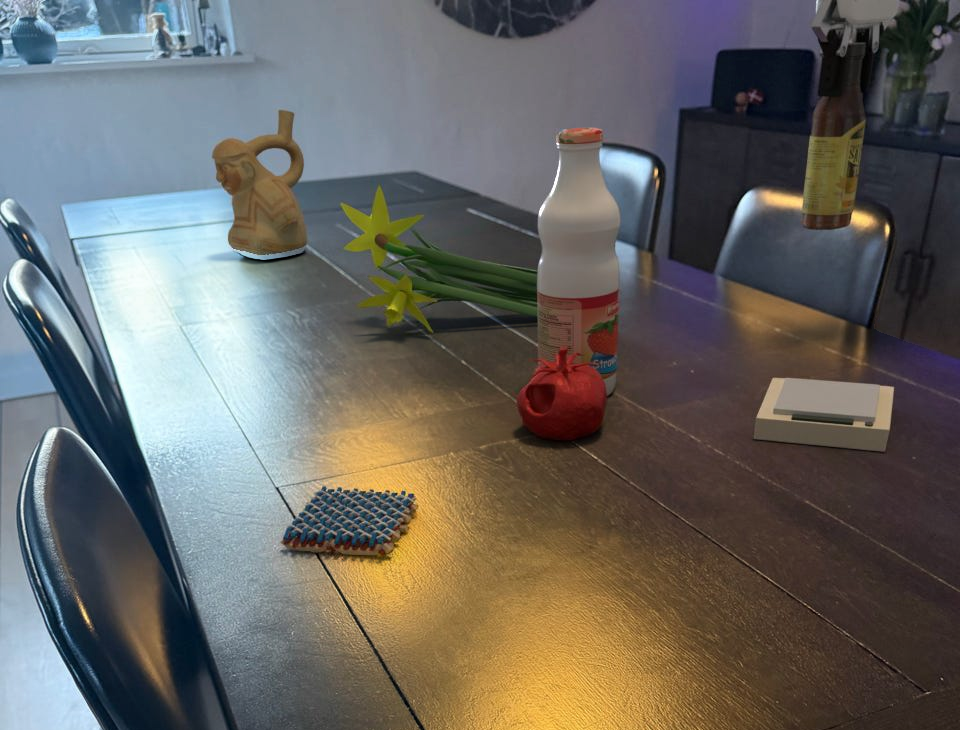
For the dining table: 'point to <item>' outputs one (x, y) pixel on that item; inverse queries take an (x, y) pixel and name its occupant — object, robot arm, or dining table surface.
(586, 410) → the pomegranate
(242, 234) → the ceramic vessel
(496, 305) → the daffodil flowers
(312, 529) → the woven mat
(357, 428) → the dining table surface
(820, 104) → the sauce bottle
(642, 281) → the dining table surface
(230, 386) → the dining table surface
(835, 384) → the scale
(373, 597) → the dining table surface
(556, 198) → the fruit juice
